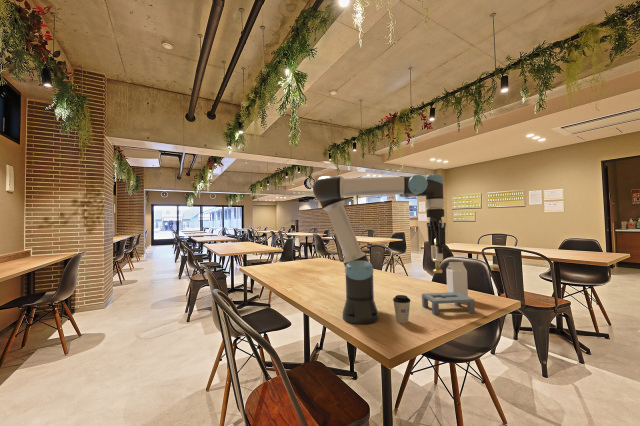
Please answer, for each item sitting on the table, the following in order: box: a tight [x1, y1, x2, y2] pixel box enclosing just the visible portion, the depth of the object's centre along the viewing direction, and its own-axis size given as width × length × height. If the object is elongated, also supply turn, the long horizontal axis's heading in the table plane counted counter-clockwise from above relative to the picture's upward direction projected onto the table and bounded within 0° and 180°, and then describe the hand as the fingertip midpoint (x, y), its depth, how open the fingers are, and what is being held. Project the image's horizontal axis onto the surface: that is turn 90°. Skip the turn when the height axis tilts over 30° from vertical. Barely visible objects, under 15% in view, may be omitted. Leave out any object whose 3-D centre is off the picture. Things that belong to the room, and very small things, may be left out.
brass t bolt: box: [432, 239, 443, 274], centre depth 123 cm, size 4×4×15 cm
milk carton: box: [445, 261, 469, 297], centre depth 138 cm, size 7×7×19 cm
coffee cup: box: [392, 294, 412, 324], centre depth 111 cm, size 7×7×10 cm
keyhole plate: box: [421, 292, 476, 316], centre depth 123 cm, size 18×12×6 cm, turn 94°
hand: (437, 259), depth 123 cm, fingers closed on brass t bolt, 4 cm apart
